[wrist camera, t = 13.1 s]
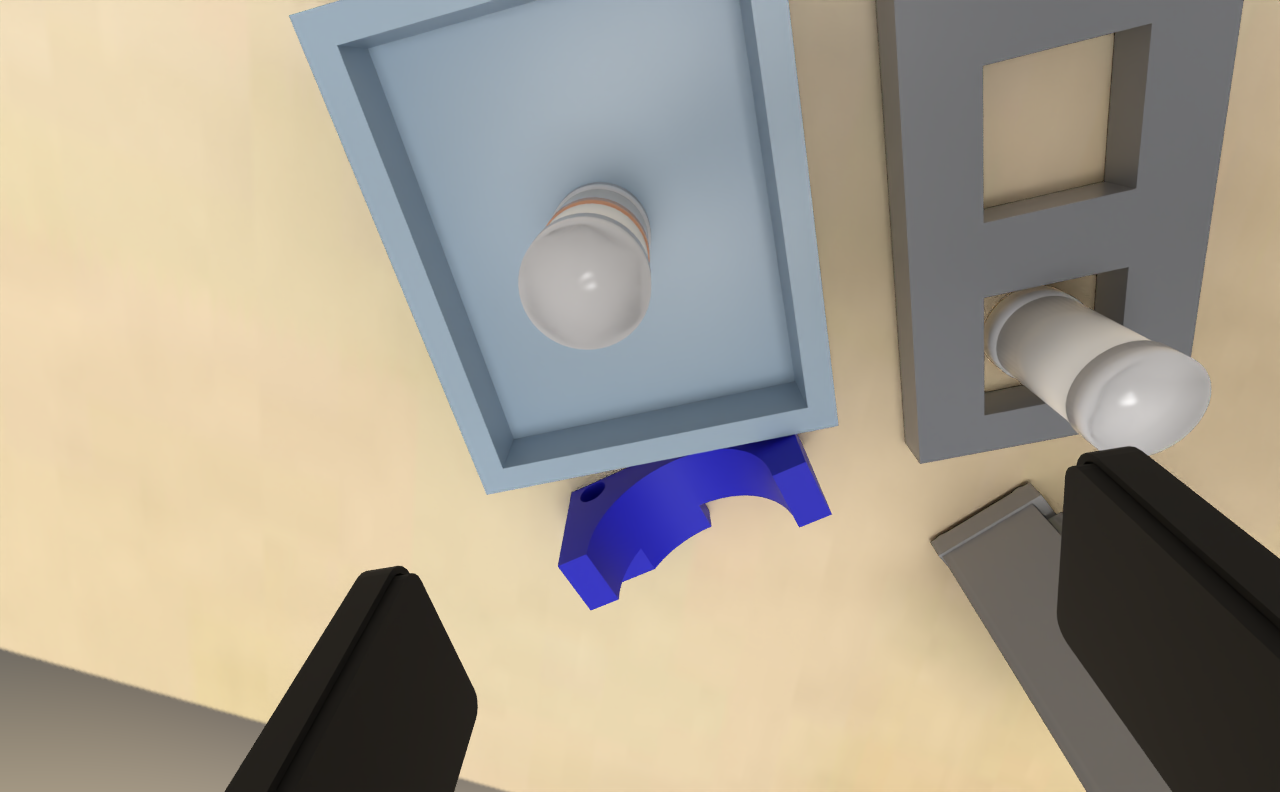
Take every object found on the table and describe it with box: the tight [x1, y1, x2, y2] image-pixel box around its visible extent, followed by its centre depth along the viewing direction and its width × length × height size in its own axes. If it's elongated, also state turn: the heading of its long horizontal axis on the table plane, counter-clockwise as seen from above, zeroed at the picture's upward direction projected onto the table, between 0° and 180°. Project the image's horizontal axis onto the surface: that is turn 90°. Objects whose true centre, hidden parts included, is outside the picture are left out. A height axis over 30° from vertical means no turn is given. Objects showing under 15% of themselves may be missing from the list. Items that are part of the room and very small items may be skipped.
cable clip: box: [558, 434, 832, 610], centre depth 31 cm, size 12×4×6 cm, turn 118°
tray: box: [289, 0, 838, 495], centre depth 27 cm, size 16×20×4 cm
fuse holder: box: [876, 0, 1244, 464], centre depth 25 cm, size 12×28×2 cm, turn 13°
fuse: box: [984, 286, 1211, 456], centre depth 26 cm, size 4×4×8 cm
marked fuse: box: [518, 182, 651, 350], centre depth 24 cm, size 4×4×8 cm
